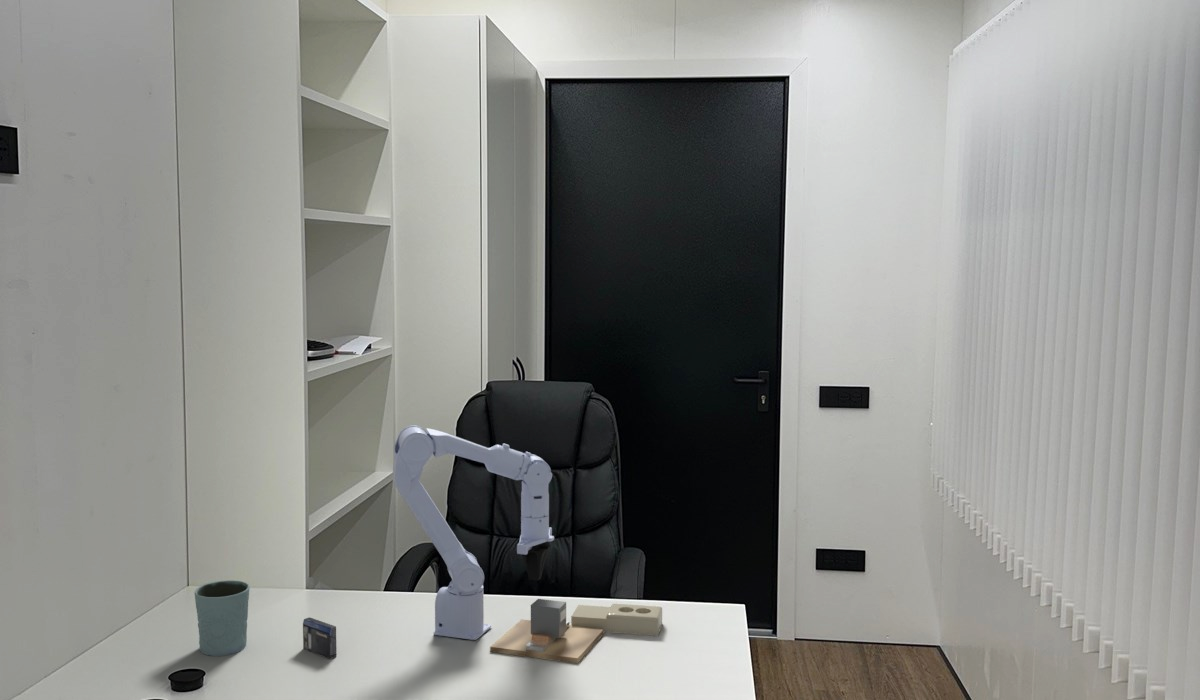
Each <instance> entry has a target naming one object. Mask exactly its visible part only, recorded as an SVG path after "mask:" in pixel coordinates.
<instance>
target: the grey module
mask: <svg viewBox="0 0 1200 700" xmlns="http://www.w3.org/2000/svg"><path fill="white" fill-rule="evenodd" d="M530 620H531V635H532V634H533V633H542V634H550V635H551V637H553V638H560V637H561V636H562V635H563V634H564V633H565V632H566V621H567V602H566V601H563V600H561V601H560V600H551V599H543V598H542V599H541V598H537V599H536V600H535V601H533V602H532V603H531V604H530Z"/></svg>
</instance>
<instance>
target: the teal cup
mask: <svg viewBox="0 0 1200 700" xmlns="http://www.w3.org/2000/svg"><path fill="white" fill-rule="evenodd" d="M250 588H251V587H250V585H249V583H247V582H246V581H245V582H244V581H241V580H233V579H232V580H217V581H212V582H208V583H205V584H204V583H203V584H202V585H200V586H198V587H196V589H195V590H194V601H195V609H196V614H197V622H198V623H197V627H198V636H199V637H198V639H199V641H198V645H199V651H200V653H201V654H203V655H206V656H210V657H213V656H214V657H221V656H229V655H233V654H236V653H238V652H241V651H242V650H244V649H246V647H247V637H248V635H247V630H248V616H249V599H250Z"/></svg>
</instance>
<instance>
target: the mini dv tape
mask: <svg viewBox="0 0 1200 700" xmlns="http://www.w3.org/2000/svg"><path fill="white" fill-rule="evenodd" d="M302 644H303V646H302V648H303V650H306V651H308V652H311V653H313V654H316V655H318V656H322V657H324V658H326V659H329V660H330V659H331V660H332V659H334V658H336V657H337V655H338V654H337V626H335V625H333V624H331V623H327V622H324V621H321V620H319V619H315V618H312V617H310V616H309V617H306V618H304V619H303V621H302Z"/></svg>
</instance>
